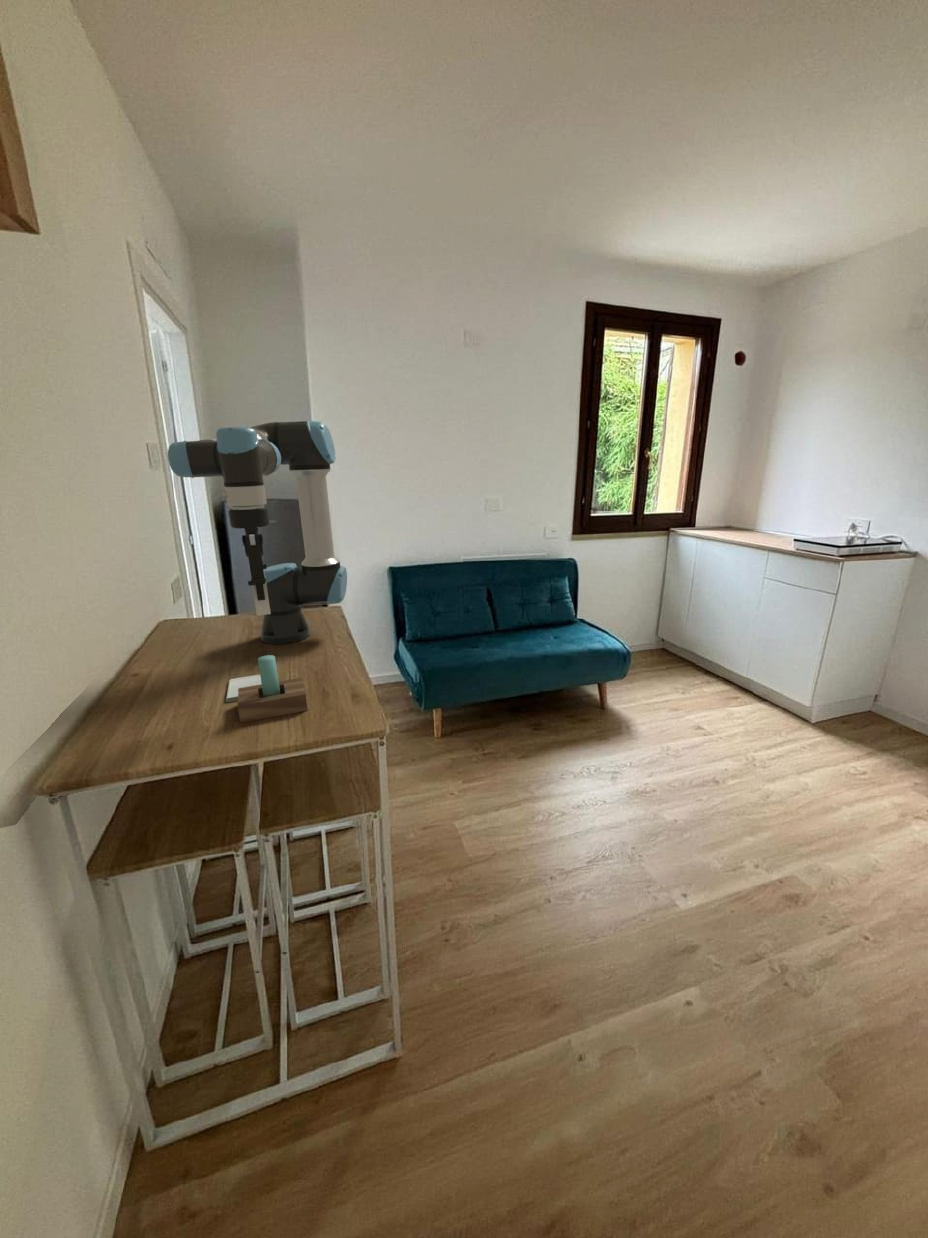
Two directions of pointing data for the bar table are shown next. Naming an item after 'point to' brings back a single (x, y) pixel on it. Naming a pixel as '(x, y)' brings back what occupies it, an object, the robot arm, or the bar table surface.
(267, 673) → the peg
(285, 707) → the socket block
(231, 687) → the hard drive
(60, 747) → the bar table surface
